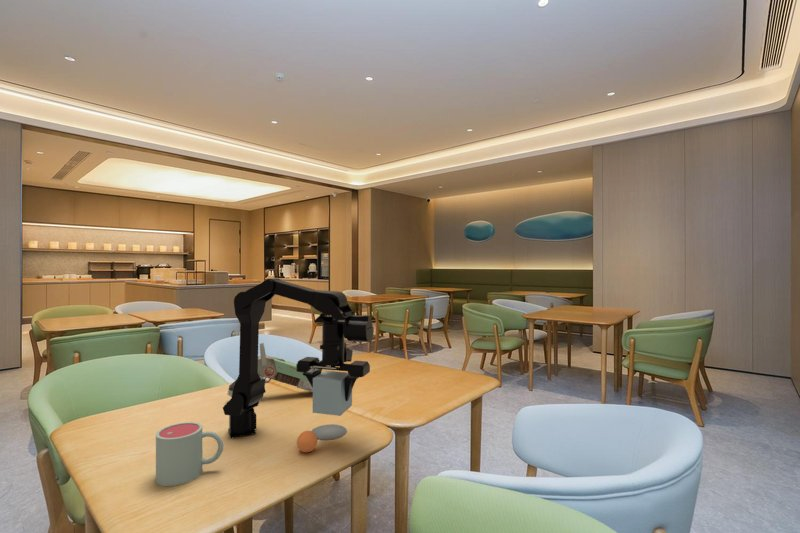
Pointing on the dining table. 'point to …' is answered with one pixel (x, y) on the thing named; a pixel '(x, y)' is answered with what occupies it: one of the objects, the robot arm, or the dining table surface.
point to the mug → (182, 453)
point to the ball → (307, 441)
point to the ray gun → (279, 372)
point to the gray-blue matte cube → (330, 393)
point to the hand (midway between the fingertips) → (332, 399)
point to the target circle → (329, 431)
